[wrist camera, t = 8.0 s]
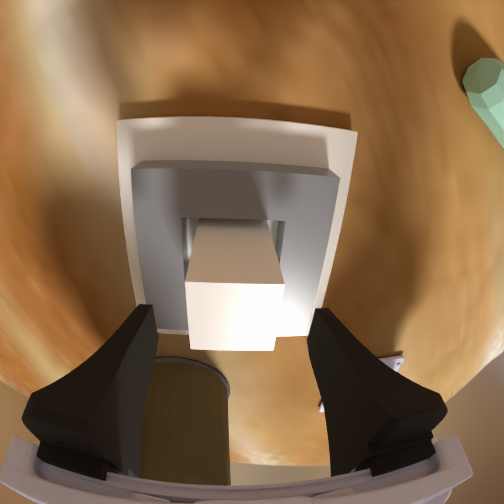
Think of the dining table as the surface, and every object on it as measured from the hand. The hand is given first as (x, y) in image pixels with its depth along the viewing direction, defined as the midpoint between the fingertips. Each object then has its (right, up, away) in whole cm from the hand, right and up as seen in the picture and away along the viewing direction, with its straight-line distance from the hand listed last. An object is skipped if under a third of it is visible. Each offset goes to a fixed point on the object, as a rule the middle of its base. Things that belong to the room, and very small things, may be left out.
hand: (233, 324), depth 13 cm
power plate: (-1, +4, +7) cm, 8 cm away
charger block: (0, +4, +6) cm, 7 cm away
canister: (-7, -10, +15) cm, 20 cm away
